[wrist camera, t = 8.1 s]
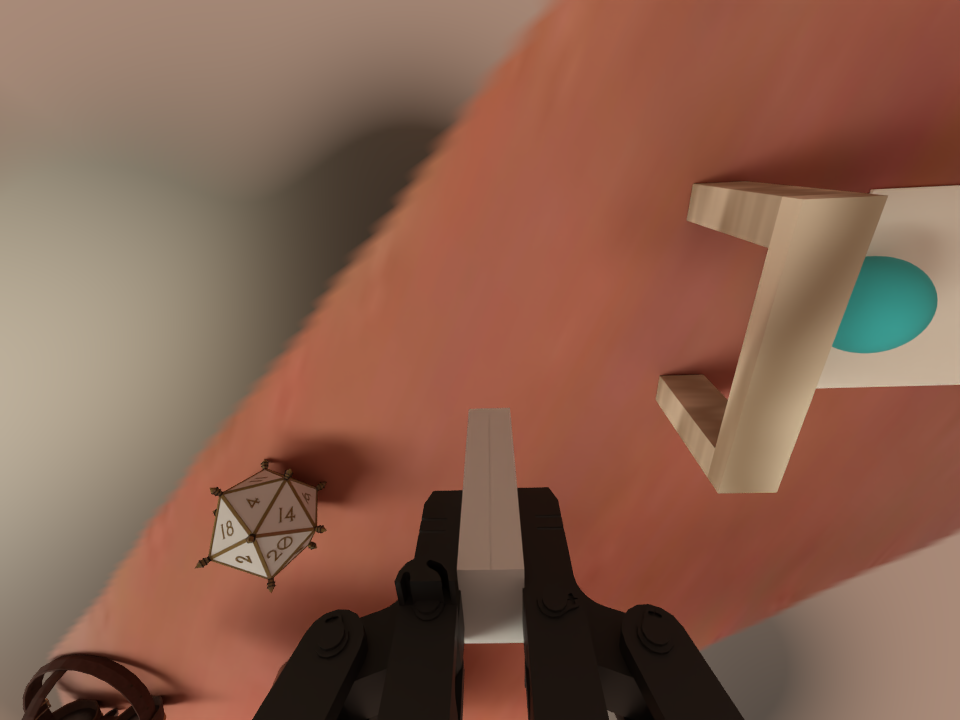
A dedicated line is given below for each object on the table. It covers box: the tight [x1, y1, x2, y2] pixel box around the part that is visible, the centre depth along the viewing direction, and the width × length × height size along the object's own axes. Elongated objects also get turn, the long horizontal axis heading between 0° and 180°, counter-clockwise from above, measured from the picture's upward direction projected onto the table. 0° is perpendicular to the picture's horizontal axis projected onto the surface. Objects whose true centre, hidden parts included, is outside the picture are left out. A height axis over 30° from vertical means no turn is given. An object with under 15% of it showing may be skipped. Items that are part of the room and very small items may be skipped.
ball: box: [832, 256, 938, 353], centre depth 23 cm, size 6×6×6 cm
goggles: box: [22, 655, 166, 720], centre depth 47 cm, size 15×13×10 cm
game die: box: [195, 459, 327, 593], centre depth 31 cm, size 9×8×10 cm
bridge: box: [656, 181, 888, 493], centre depth 22 cm, size 3×14×9 cm, turn 3°
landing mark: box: [816, 185, 960, 388], centre depth 26 cm, size 13×13×1 cm
